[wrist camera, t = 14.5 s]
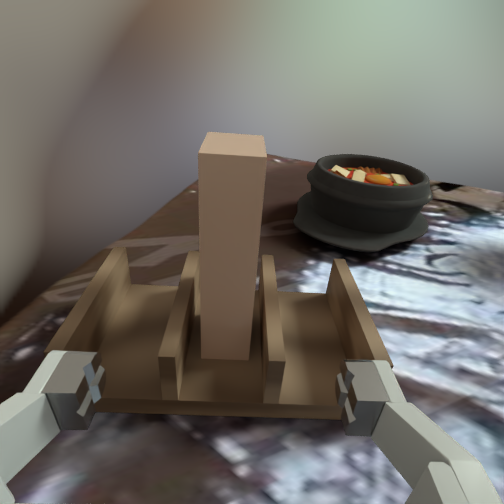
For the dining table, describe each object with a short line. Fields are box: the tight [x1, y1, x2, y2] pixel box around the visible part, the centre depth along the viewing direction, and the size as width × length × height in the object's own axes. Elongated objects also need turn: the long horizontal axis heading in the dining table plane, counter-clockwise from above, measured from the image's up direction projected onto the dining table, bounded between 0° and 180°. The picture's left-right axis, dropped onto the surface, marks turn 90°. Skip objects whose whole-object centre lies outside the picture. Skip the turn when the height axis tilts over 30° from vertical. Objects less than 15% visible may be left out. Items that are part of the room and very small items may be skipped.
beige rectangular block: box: [198, 132, 267, 360], centre depth 23 cm, size 5×4×15 cm
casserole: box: [293, 154, 433, 252], centre depth 49 cm, size 25×19×8 cm
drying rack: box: [44, 247, 393, 420], centre depth 26 cm, size 12×21×6 cm, turn 91°
